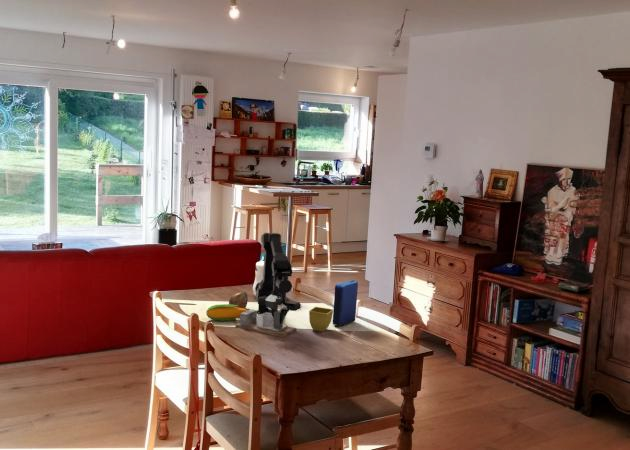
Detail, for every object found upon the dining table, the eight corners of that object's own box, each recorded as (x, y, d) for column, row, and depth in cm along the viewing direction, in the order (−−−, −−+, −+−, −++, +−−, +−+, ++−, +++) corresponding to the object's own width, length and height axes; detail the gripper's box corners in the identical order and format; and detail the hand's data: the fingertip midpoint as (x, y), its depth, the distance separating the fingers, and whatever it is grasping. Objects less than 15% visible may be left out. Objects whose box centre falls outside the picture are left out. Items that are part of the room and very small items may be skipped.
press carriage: (266, 323, 308) (266, 306, 307) (287, 327, 303) (288, 310, 302) (256, 327, 301) (257, 309, 300) (278, 331, 296) (279, 314, 295)
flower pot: (332, 328, 310) (333, 309, 308) (326, 333, 301) (327, 313, 300) (314, 325, 312) (315, 306, 311) (307, 330, 304) (308, 310, 303)
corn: (205, 301, 313) (249, 301, 319) (205, 317, 315) (248, 316, 320) (207, 307, 306) (251, 306, 312) (206, 323, 308) (250, 322, 313)
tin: (233, 314, 323) (233, 297, 321) (227, 313, 324) (227, 296, 322) (247, 307, 336) (248, 290, 335) (242, 306, 338) (242, 289, 336)
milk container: (252, 293, 365) (253, 259, 363) (285, 294, 367) (286, 261, 365) (252, 301, 348) (254, 266, 346) (286, 302, 350) (288, 267, 348)
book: (347, 319, 325) (350, 278, 322) (357, 322, 322) (360, 280, 319) (330, 325, 313) (333, 283, 311) (340, 328, 310) (343, 285, 308)
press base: (249, 320, 314) (250, 307, 313) (295, 330, 303) (296, 317, 302) (235, 326, 303) (235, 313, 303) (282, 337, 293) (282, 323, 292)
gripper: (251, 287, 295) (250, 322, 297) (289, 294, 287) (287, 330, 289) (265, 282, 305) (263, 317, 307) (302, 289, 296) (300, 324, 299)
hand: (278, 322), depth 300 cm, fingers closed on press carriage, 3 cm apart
